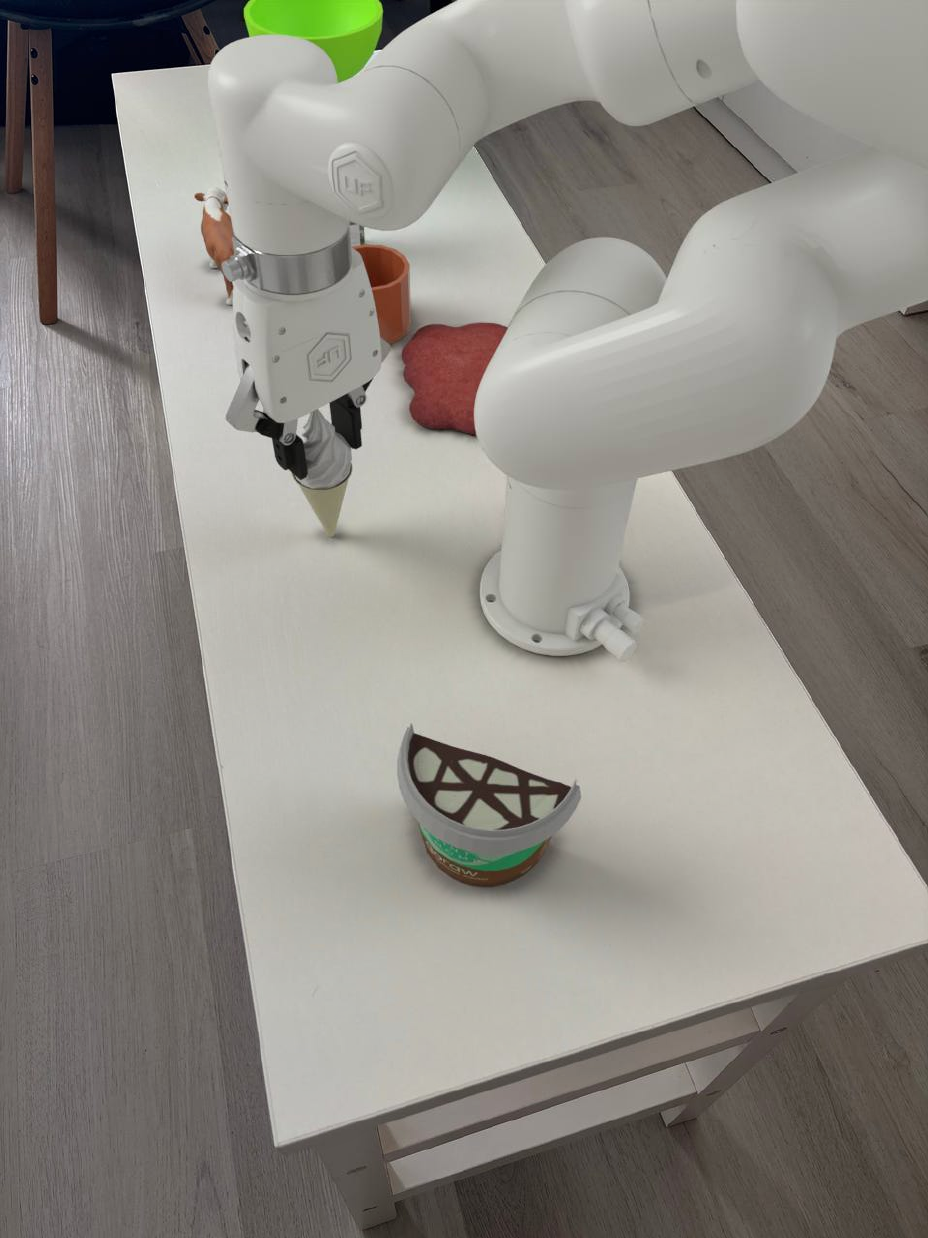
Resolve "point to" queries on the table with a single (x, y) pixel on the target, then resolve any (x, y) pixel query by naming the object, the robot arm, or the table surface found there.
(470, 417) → the patty
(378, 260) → the holder cup
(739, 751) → the table surface
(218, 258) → the bull figurine
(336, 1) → the wineglass
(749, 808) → the table surface
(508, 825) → the food container
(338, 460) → the ice cream cone
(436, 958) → the table surface
